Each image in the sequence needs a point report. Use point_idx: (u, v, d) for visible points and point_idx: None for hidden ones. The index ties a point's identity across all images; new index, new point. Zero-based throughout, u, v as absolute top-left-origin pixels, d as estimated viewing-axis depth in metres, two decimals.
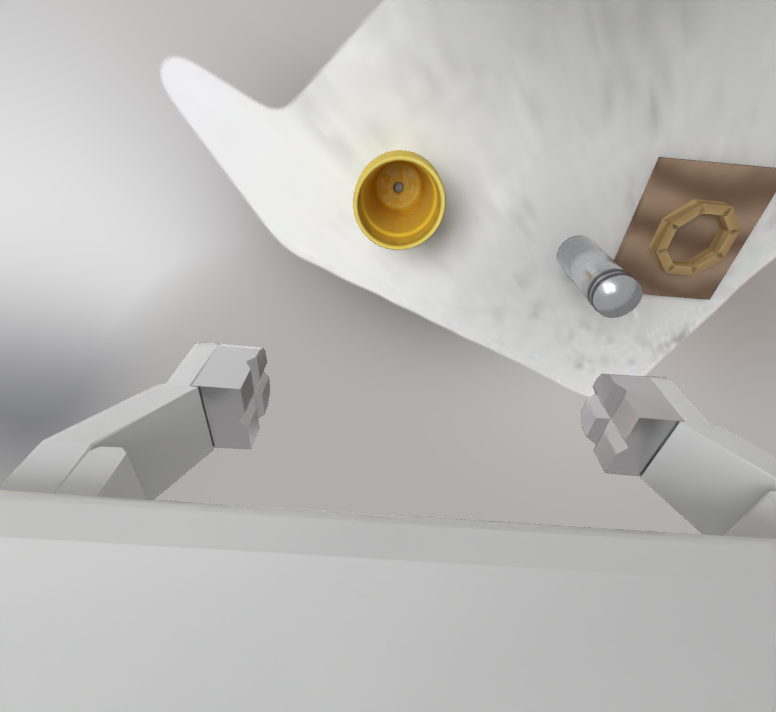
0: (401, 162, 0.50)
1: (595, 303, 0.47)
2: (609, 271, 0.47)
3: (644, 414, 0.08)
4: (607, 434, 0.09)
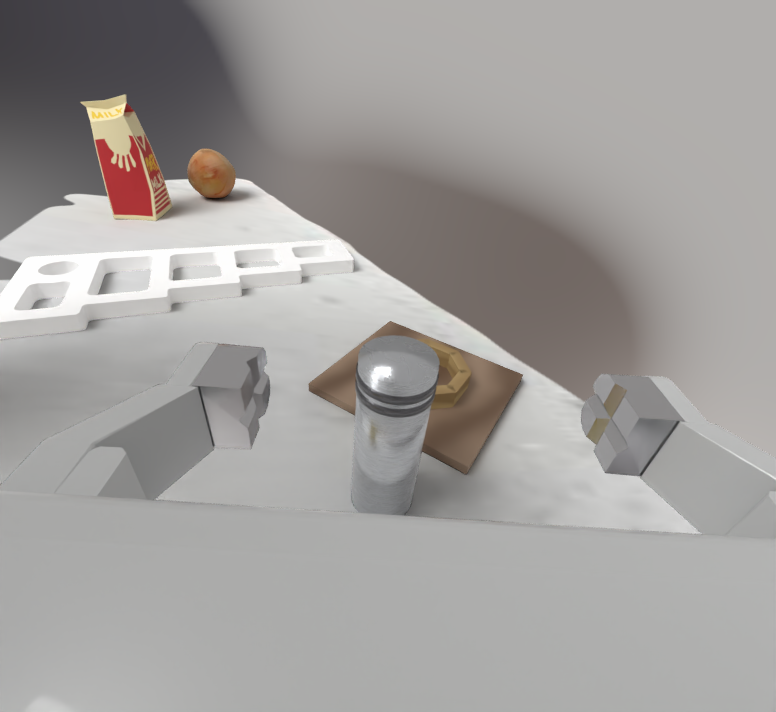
0: None
1: (392, 386, 0.23)
2: None
3: (644, 414, 0.08)
4: (607, 434, 0.09)
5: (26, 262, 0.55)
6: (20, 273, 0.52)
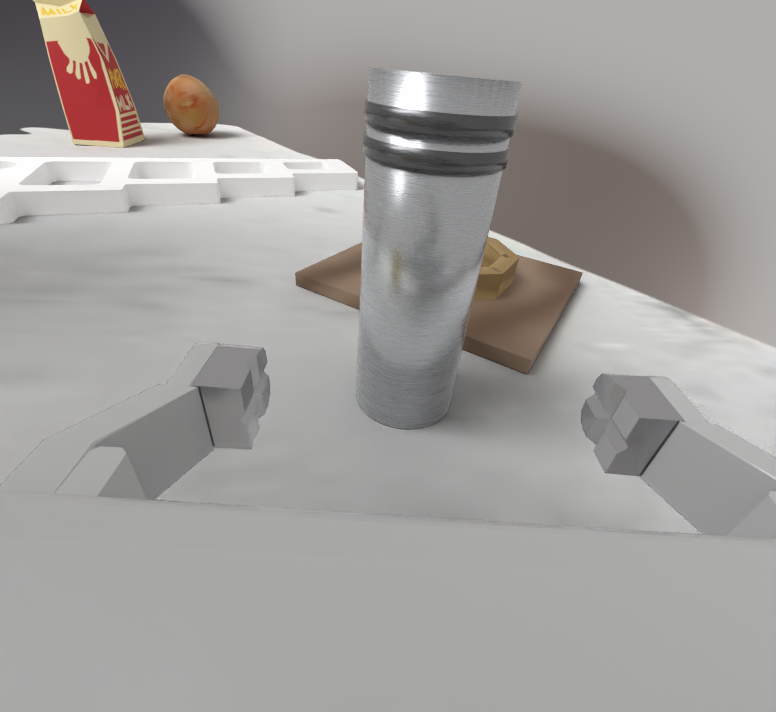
0: None
1: (438, 83, 0.11)
2: None
3: (644, 414, 0.08)
4: (607, 434, 0.09)
5: None
6: None
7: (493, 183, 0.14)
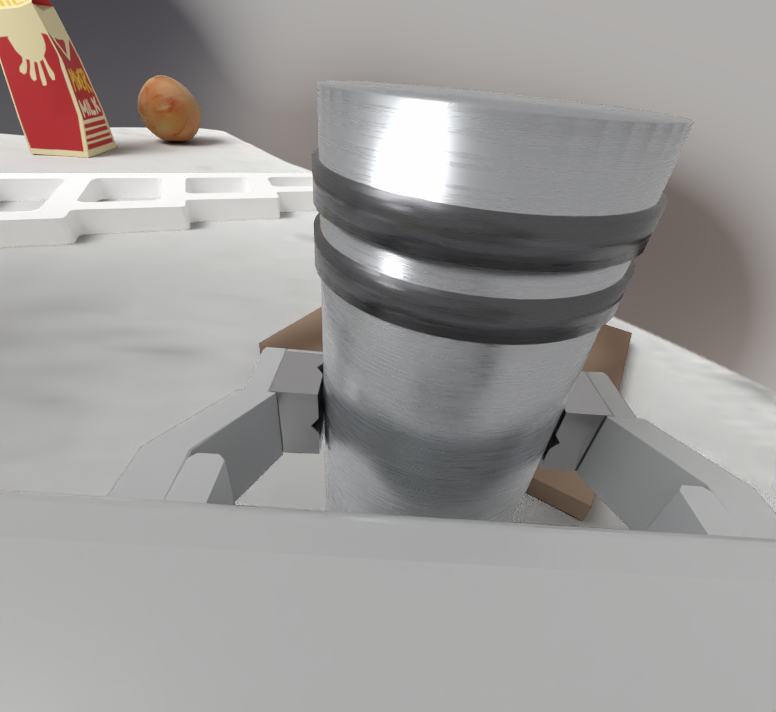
0: None
1: (499, 134, 0.04)
2: None
3: (573, 409, 0.08)
4: None
5: None
6: None
7: (596, 335, 0.06)
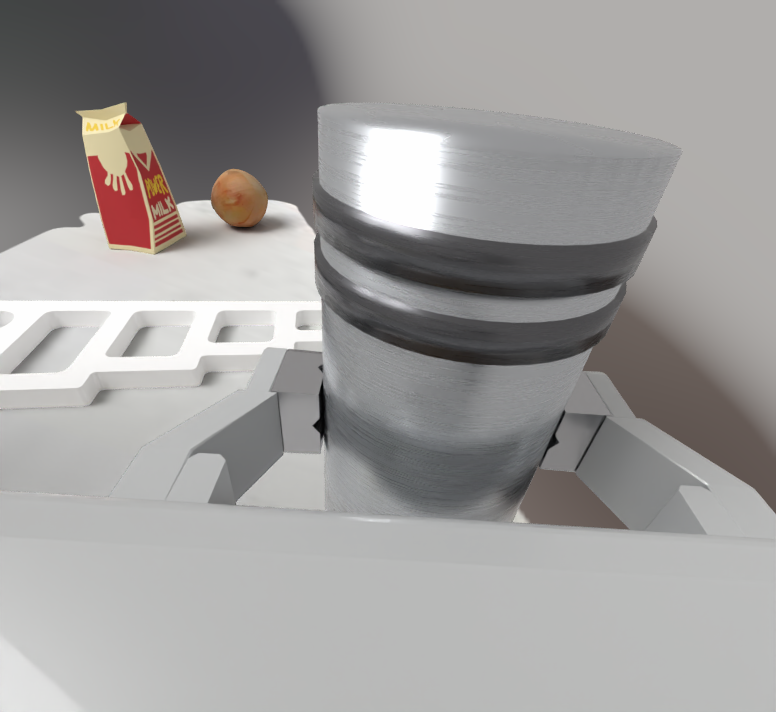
0: None
1: (493, 169, 0.04)
2: None
3: (572, 409, 0.08)
4: None
5: None
6: None
7: (589, 352, 0.06)
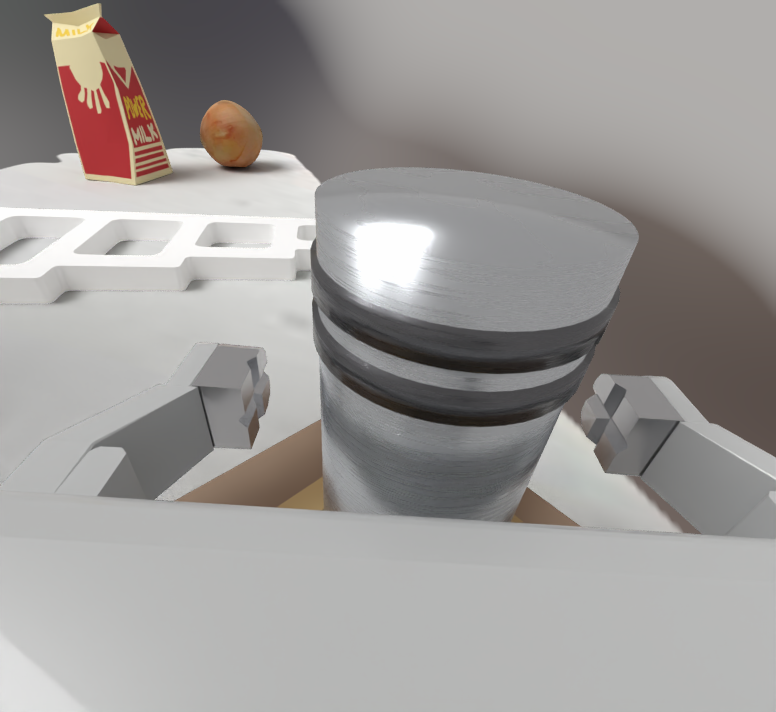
0: None
1: (465, 274, 0.05)
2: None
3: (644, 414, 0.08)
4: (607, 434, 0.09)
5: None
6: None
7: (562, 405, 0.07)
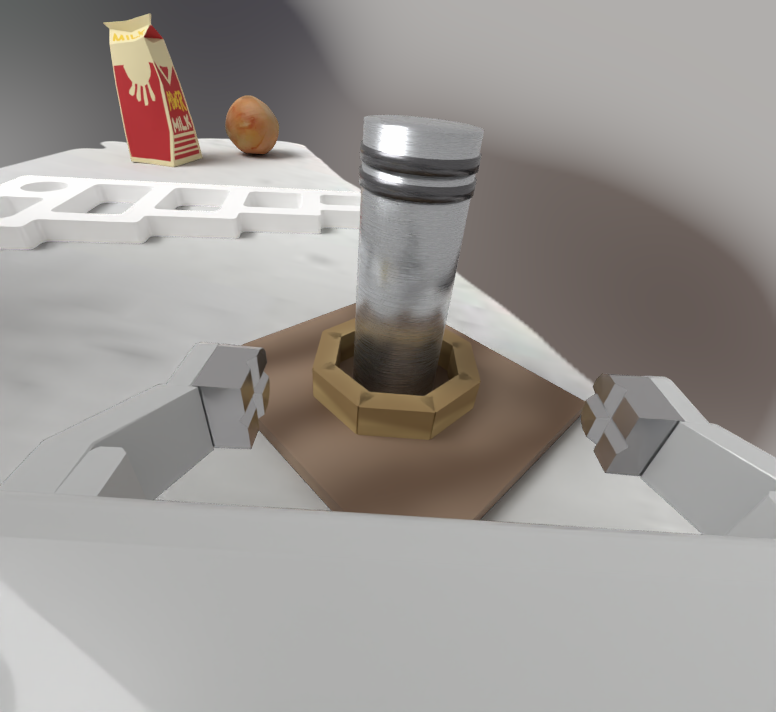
0: None
1: (416, 136, 0.15)
2: None
3: (644, 414, 0.08)
4: (607, 434, 0.09)
5: (17, 179, 0.48)
6: (0, 186, 0.45)
7: (462, 209, 0.17)
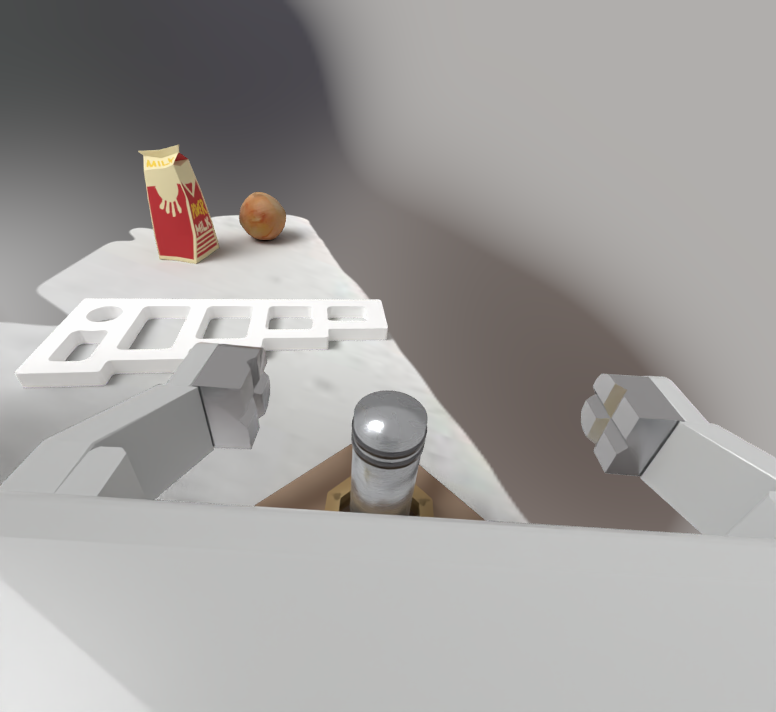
0: None
1: (383, 443, 0.25)
2: None
3: (644, 414, 0.08)
4: (607, 434, 0.09)
5: (81, 304, 0.59)
6: (70, 317, 0.56)
7: (415, 462, 0.28)
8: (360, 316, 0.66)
